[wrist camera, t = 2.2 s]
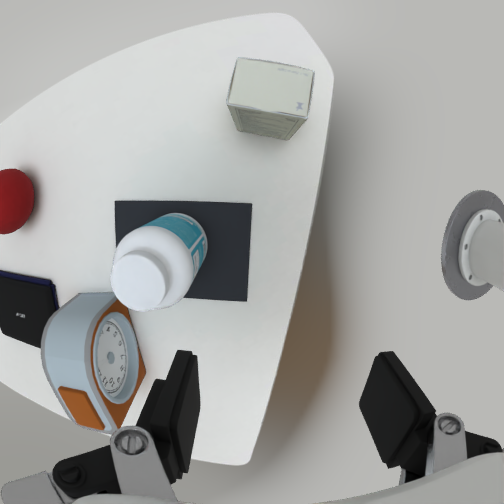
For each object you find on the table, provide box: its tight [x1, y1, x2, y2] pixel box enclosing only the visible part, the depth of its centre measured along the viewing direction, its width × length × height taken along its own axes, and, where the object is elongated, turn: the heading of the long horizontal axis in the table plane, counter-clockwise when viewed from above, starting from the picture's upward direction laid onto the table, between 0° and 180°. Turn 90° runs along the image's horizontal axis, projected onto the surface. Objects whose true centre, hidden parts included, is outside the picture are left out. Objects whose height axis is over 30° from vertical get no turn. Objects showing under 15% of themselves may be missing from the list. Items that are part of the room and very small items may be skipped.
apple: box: [0, 169, 34, 234], centre depth 26 cm, size 9×9×10 cm
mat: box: [115, 201, 252, 302], centre depth 33 cm, size 17×12×1 cm
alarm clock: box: [41, 293, 146, 434], centre depth 30 cm, size 15×8×14 cm, turn 4°
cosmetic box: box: [226, 57, 315, 140], centre depth 23 cm, size 6×4×12 cm
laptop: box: [0, 271, 59, 348], centre depth 35 cm, size 16×20×2 cm
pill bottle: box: [110, 213, 207, 311], centre depth 26 cm, size 8×7×14 cm
